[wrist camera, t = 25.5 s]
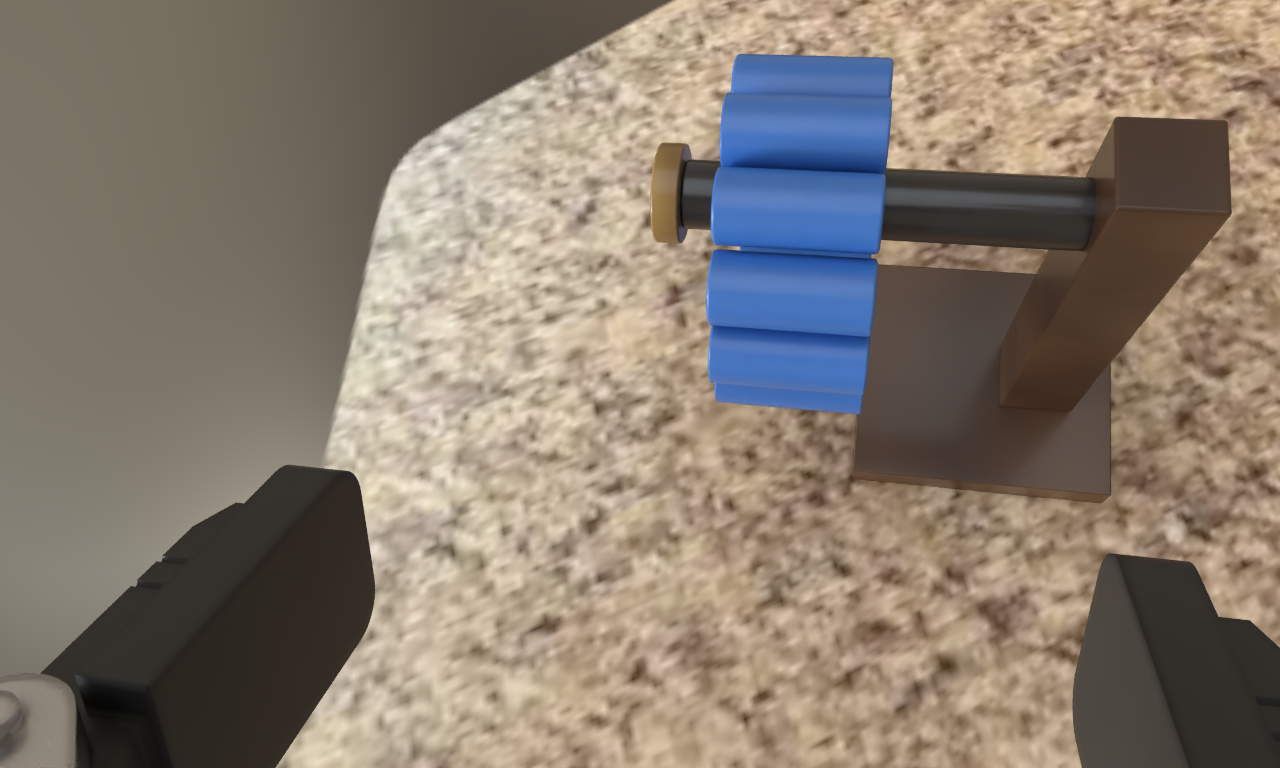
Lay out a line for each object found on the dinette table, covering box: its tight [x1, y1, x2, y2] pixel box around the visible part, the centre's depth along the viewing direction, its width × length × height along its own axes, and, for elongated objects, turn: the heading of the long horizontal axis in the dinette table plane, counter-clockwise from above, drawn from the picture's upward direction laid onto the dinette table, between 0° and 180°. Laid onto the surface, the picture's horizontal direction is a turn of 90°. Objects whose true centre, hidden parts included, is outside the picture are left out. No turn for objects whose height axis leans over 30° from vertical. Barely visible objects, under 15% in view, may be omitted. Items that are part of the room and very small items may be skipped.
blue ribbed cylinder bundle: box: [706, 54, 893, 414], centre depth 29 cm, size 4×9×9 cm, turn 172°
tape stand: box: [650, 117, 1232, 503], centre depth 31 cm, size 14×8×16 cm, turn 82°
